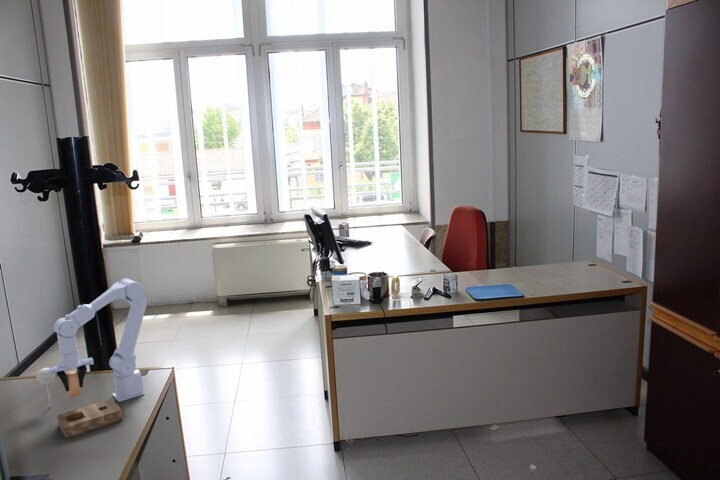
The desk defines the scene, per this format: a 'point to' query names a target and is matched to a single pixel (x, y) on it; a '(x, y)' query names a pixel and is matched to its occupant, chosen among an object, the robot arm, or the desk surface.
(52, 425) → the desk surface
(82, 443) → the desk surface
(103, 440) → the desk surface
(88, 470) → the desk surface
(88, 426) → the socket block
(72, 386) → the pin
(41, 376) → the lollipop
